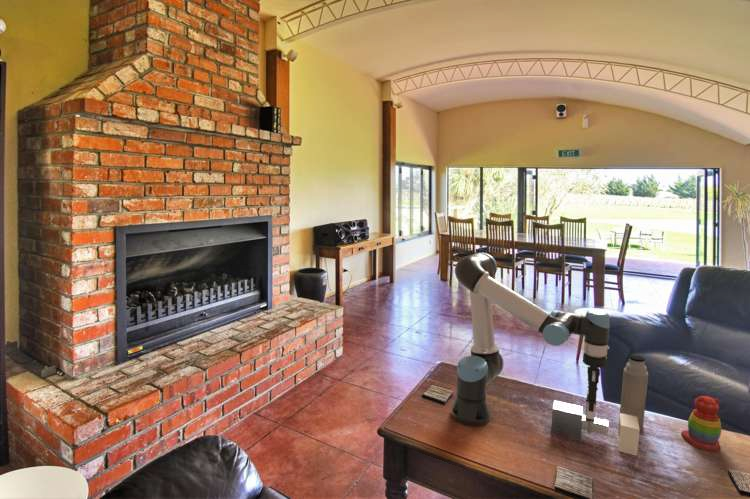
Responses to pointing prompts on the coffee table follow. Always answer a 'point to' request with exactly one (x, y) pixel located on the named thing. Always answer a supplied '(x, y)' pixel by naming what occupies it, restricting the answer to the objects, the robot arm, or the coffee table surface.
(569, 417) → the grey block
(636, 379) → the thermos bottle
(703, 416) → the stacking bear
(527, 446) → the coffee table surface
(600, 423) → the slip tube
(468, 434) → the coffee table surface
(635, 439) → the socket block
